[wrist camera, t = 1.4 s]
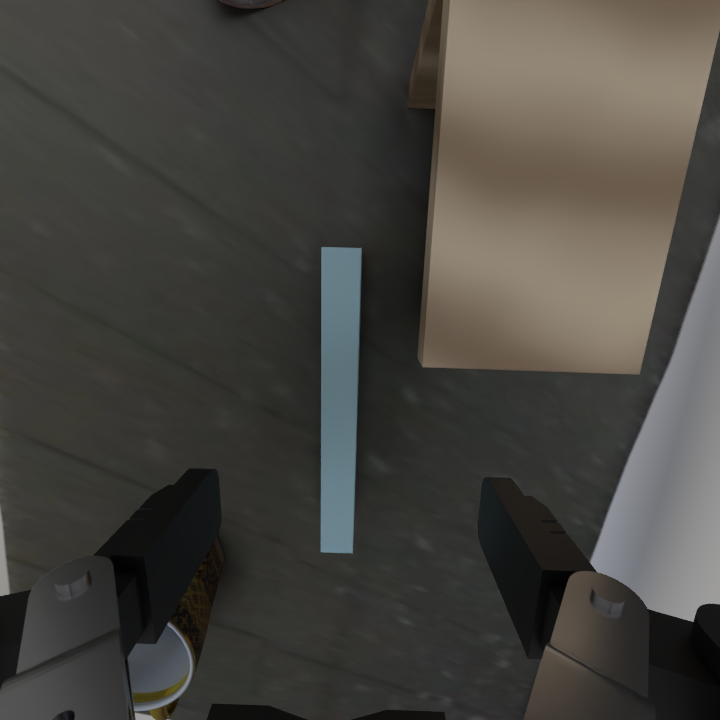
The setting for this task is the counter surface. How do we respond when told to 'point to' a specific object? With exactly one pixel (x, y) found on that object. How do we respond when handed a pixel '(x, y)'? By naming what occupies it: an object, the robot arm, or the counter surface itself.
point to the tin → (251, 3)
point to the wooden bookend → (554, 175)
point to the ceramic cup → (176, 644)
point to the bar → (339, 393)
